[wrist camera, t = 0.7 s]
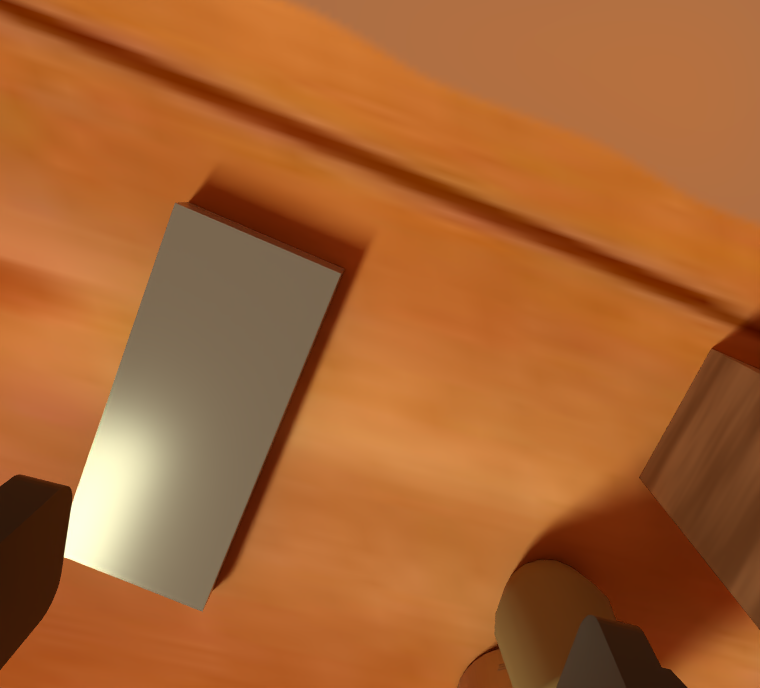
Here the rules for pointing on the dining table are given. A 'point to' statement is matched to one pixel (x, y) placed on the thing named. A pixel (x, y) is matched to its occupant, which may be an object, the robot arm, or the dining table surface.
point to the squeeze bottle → (544, 620)
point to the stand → (716, 473)
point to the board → (197, 403)
